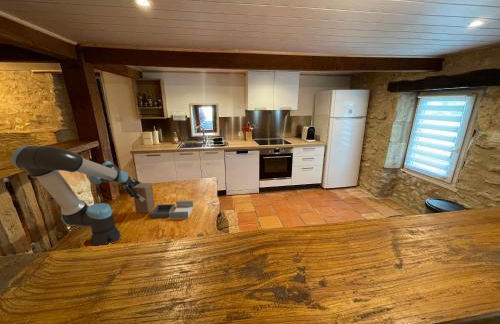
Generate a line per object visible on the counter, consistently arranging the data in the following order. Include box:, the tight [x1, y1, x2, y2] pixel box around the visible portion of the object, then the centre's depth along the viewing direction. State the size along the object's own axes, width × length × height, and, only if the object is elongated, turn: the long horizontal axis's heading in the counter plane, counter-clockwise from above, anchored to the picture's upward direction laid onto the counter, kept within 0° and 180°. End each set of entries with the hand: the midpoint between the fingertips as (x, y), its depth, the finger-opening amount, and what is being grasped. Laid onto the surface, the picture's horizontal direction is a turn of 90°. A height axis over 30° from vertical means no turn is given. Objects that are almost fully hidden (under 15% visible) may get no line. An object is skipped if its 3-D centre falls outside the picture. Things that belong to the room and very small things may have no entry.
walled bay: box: [170, 200, 194, 220], centre depth 156 cm, size 13×18×6 cm
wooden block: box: [133, 182, 156, 213], centre depth 151 cm, size 10×10×20 cm
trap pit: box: [150, 203, 176, 219], centre depth 155 cm, size 14×14×4 cm
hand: (147, 197), depth 152 cm, fingers closed on wooden block, 11 cm apart
